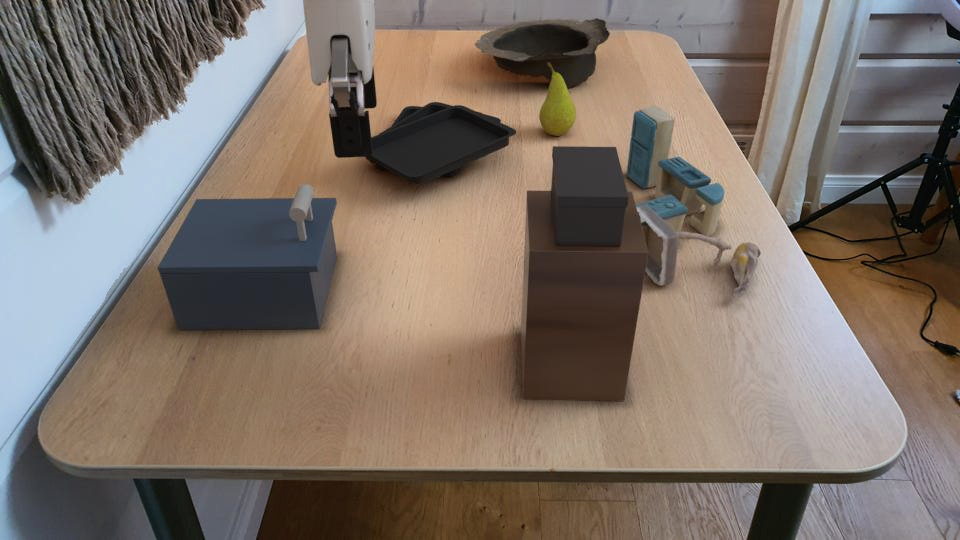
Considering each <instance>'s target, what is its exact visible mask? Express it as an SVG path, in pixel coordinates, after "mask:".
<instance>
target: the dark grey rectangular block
mask: <svg viewBox="0 0 960 540" xmlns="http://www.w3.org/2000/svg"><path fill="white" fill-rule="evenodd" d="M551 150H552V152H551V157H552V159H551V160H552V169H551V170H552V172H551V186H550V187H551V188H550V191H551V200H552V211H553V222H554V232H555V243H556V246H613V247H620V246H621V240H622V232H623V225H624V218H625V210H626V207H628V200H629V196H628V192H629V191H628V188H627V184H626V180H625V177H624V173H623V169H622V165H621V162H620V156H619V154H618V150H617V147H616V146H572V145H571V146H563V145H562V146H560V145H559V146H557V145H553V146H552V149H551Z"/></svg>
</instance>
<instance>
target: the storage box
mask: <svg viewBox="0 0 960 540" xmlns="http://www.w3.org/2000/svg"><path fill="white" fill-rule="evenodd" d="M333 226H334V225H333V222H332V223H331V226H330V230H329V234H328V237H327V241H326V245H325V248H324V252H323V255H322V259H321V263H320V266H319V270H318V272H247V273H159V276H160V279H161V282H162V285H163V288H164V291H165V294H166V297H167V300H168V303H169V307H170V309H171V312H172V315H173V318H174V322H175V325H176V328H177V330H178V331H222V330H223V331H226V330H227V331H228V330H230V331H231V330H232V331H233V330H238V331H239V330H315V329H317V330H320V329H321V324H322V320H323V316H324V312H325V309H326V305H327V300H328V296H329V292H330V288H331V283H332V280H333V277H334V272H335V268H336V263H337V259H338V254H337V245H336V239H335V233H334V227H333Z"/></svg>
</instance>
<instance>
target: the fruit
mask: <svg viewBox="0 0 960 540" xmlns="http://www.w3.org/2000/svg"><path fill="white" fill-rule="evenodd" d="M547 65H548V66H549V67H550V68H551V70H552V80H550V83H549V86H548V89H547V95H546V97H545V100H544V102H543V104H542V105H541V107H540V110H539V115H538V116H539V119H538V120H539V121H540V125H541V127H542V129H543V131H545V132H546V133H547V134H549V135H551V136H556V137H560V136H563V135H565V134H566V133H568V132H569V131H570V130H571V129H572V128H573V127H574V124H575V122H576V118H577V110H576V107H575V104H574V102H573V100H572V98H571V96H570V93H569V90H568V89H567V87H566V84H565V82H564V80H563V78H562V76H561V75H560V74H559V73H557V72H554V70H553V68H552V66H551V64H550V63H549V62H547Z"/></svg>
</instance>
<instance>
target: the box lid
mask: <svg viewBox="0 0 960 540" xmlns="http://www.w3.org/2000/svg"><path fill="white" fill-rule="evenodd" d="M314 195H315V190H314V188H313V186H311V185H310V184H308V183H303V184H300V185H298V186H297V189H296V193H295V195H294V197H281V198H280V197H279V198H277V197H276V198H275V197H274V198H273V197H272V198H196V199H195V201H194V202H193V204H192V206H191V208H190V209H189V211H188V213H187V215H186V217H185V218H184V220H183V222H182V224H181V226H180V227H179V229H178V231H177V233H176V234H175V236H174V238H173V239H172V241H171V243H170V244H169V246H168V248H167V250H166V252H165V253H164V255H163V257H162V259H161V261H160V262H159V264H158V266H157V270H158V273H159V274H160V273H247V272H318V270H319V266H320V263H321V259H322V255H323V252H324V248H325V245H326V241H327V237H328V234H329V230H330V226H331V223H332V224H333V218H334V216H335V211H336V209H337V204H338V201H337V198H336V197H314Z"/></svg>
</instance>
